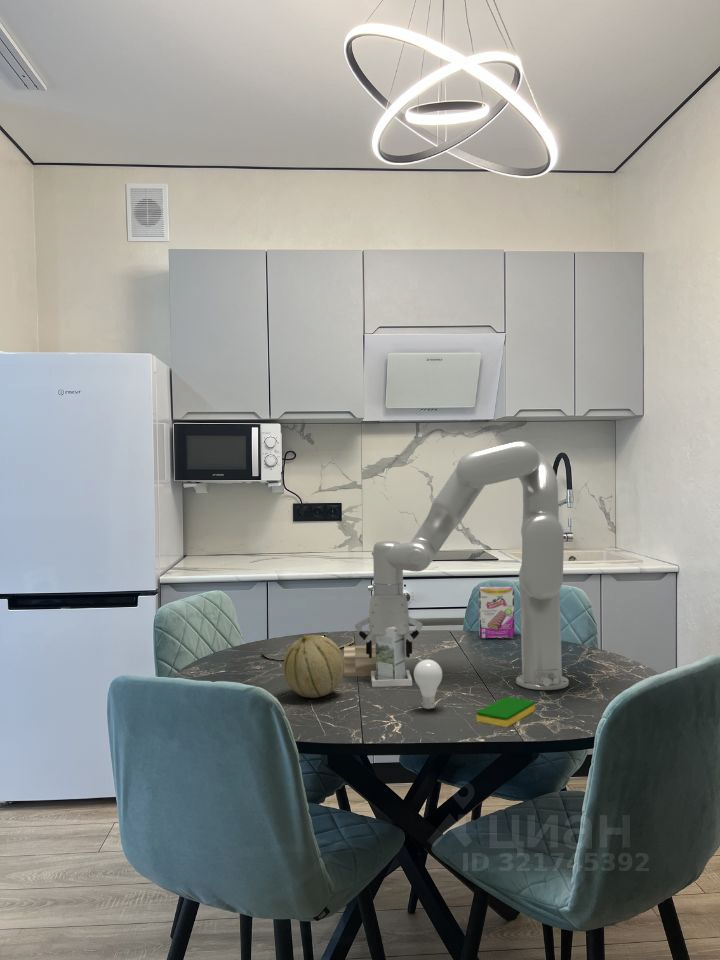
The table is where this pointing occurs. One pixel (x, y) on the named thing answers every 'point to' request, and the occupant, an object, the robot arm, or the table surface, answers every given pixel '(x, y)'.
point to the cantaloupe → (313, 666)
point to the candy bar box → (496, 612)
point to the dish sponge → (505, 711)
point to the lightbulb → (428, 681)
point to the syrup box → (390, 655)
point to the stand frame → (391, 681)
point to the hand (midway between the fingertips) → (389, 656)
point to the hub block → (359, 661)
